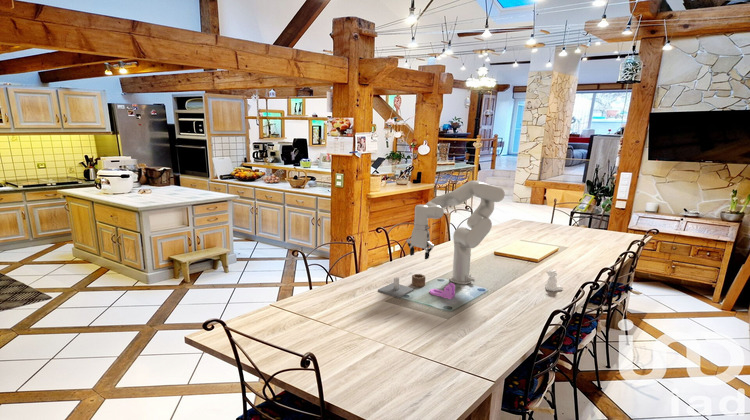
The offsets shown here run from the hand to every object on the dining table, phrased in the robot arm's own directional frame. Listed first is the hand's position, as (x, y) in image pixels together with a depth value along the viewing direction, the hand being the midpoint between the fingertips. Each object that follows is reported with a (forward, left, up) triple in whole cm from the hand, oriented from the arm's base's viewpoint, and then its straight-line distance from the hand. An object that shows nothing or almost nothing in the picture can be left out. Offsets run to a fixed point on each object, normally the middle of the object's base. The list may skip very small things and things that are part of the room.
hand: (419, 256), depth 227 cm
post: (+4, +16, -16) cm, 23 cm away
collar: (0, 0, -16) cm, 16 cm away
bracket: (-17, +4, -17) cm, 24 cm away
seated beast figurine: (-60, -44, -17) cm, 76 cm away
